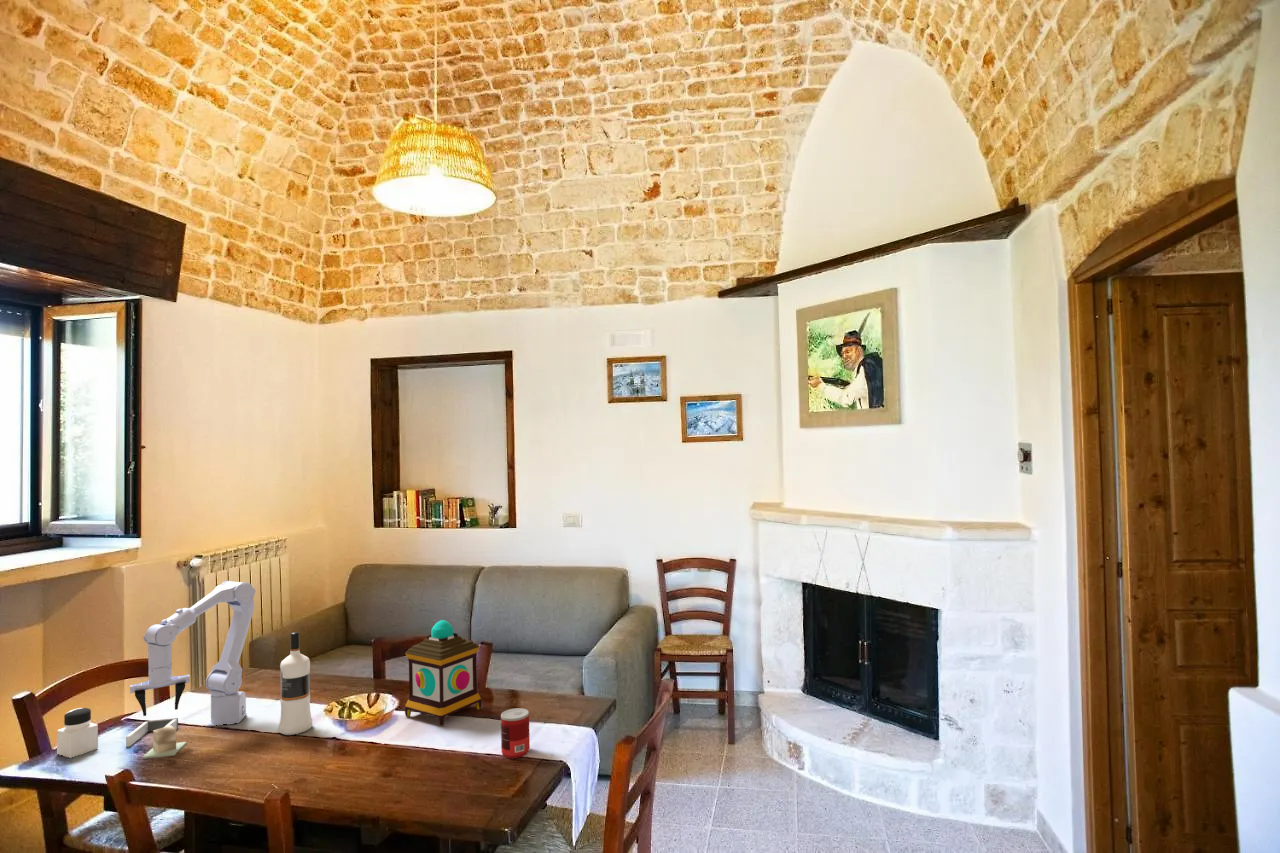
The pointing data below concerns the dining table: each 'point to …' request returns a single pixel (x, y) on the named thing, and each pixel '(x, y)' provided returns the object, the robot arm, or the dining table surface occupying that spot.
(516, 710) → the canned food
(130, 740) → the channel
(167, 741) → the beech block
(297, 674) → the vodka
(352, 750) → the dining table surface
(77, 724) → the medicine bottle
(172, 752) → the tile
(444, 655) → the decorative lantern
